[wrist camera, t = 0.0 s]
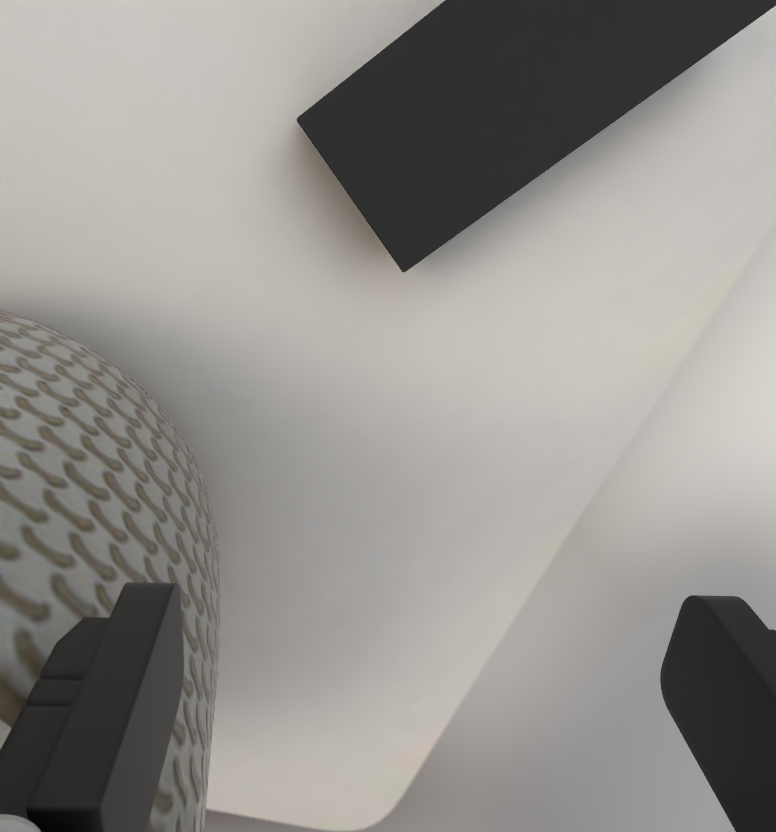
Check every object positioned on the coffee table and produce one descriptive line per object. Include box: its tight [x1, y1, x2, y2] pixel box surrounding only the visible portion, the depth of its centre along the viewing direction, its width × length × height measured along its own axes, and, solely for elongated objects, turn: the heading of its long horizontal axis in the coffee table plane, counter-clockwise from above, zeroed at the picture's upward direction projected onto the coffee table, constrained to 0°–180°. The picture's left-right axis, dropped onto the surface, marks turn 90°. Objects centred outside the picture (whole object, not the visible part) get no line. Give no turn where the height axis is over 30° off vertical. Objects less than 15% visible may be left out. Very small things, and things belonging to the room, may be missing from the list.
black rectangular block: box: [297, 0, 776, 272], centre depth 19 cm, size 12×5×4 cm, turn 125°
